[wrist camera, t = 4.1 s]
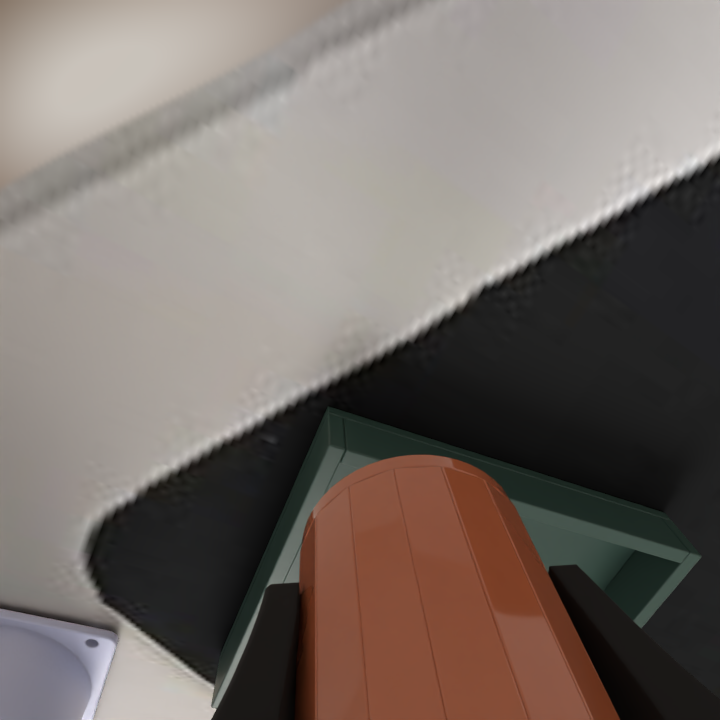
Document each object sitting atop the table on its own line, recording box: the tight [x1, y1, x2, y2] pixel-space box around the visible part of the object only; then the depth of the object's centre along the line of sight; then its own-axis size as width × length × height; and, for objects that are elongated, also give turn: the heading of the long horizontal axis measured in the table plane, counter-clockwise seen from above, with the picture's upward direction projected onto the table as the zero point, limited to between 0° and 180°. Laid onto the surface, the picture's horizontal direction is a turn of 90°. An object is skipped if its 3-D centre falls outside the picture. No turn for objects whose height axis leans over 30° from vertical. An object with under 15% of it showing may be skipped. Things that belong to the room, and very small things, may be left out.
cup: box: [294, 455, 620, 720], centre depth 11 cm, size 5×5×6 cm
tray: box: [211, 407, 701, 709], centre depth 23 cm, size 15×14×2 cm
